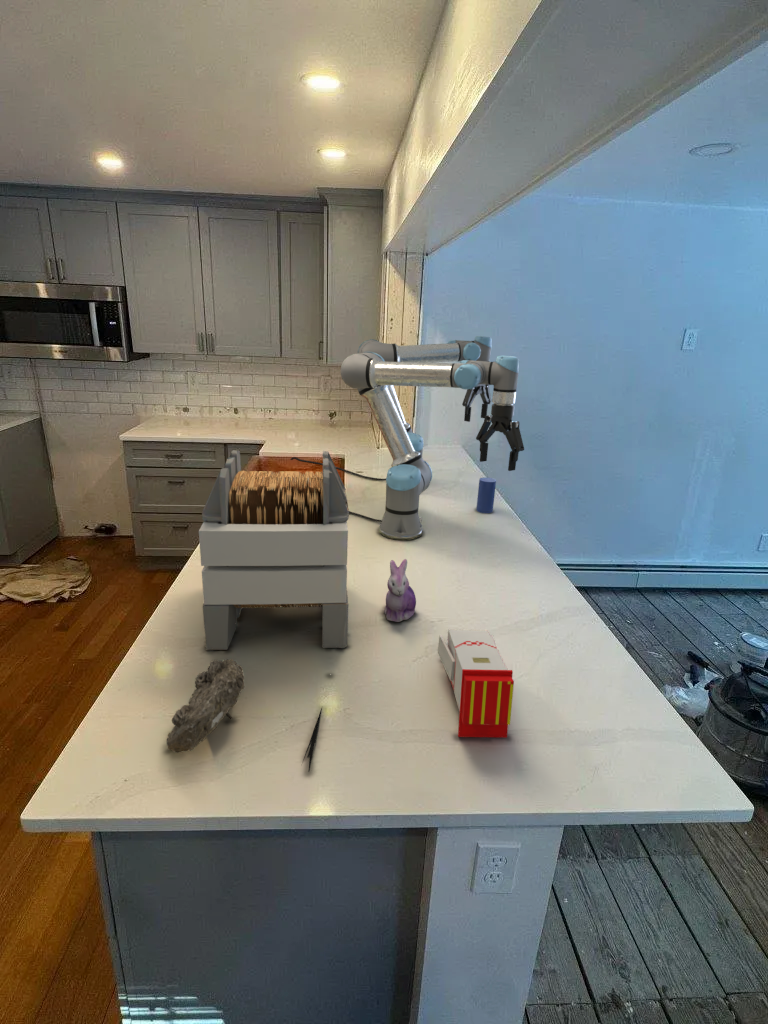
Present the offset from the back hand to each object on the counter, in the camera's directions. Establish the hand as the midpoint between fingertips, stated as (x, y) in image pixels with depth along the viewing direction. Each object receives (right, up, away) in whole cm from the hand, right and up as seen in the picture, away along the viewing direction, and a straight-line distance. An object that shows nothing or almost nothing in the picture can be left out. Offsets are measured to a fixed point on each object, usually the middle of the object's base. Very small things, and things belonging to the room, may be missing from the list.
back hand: (475, 419), depth 261 cm
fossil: (-75, -82, -153) cm, 189 cm away
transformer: (-68, -68, -116) cm, 151 cm away
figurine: (-38, -69, -114) cm, 138 cm away
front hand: (-3, -26, -65) cm, 70 cm away
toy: (-24, -80, -142) cm, 165 cm away
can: (-2, -42, -34) cm, 54 cm away
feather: (-54, -82, -152) cm, 181 cm away
